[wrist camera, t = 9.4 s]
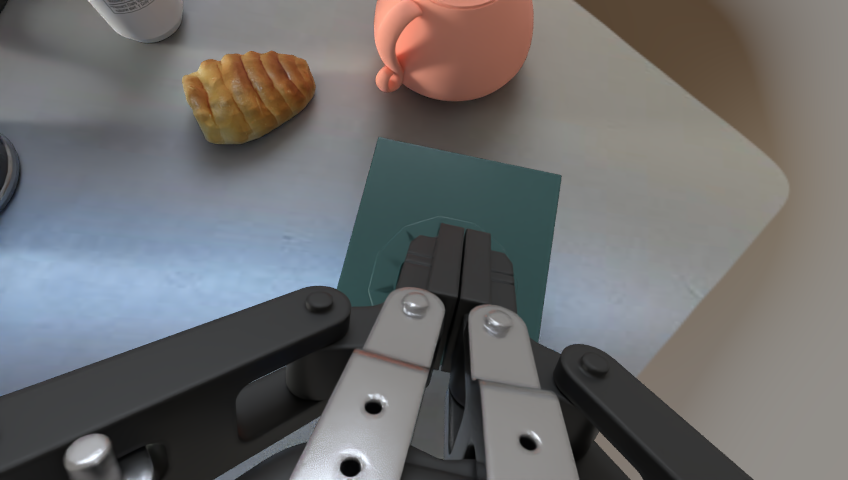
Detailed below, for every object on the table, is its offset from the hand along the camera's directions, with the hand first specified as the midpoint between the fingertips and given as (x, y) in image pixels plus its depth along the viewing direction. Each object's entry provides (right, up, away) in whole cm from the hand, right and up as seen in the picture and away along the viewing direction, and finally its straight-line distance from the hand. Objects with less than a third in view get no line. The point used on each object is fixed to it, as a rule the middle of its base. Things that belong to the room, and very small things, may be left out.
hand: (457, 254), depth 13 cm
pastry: (-15, +11, +22) cm, 29 cm away
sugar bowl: (+1, +16, +24) cm, 28 cm away
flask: (0, -2, +19) cm, 19 cm away
